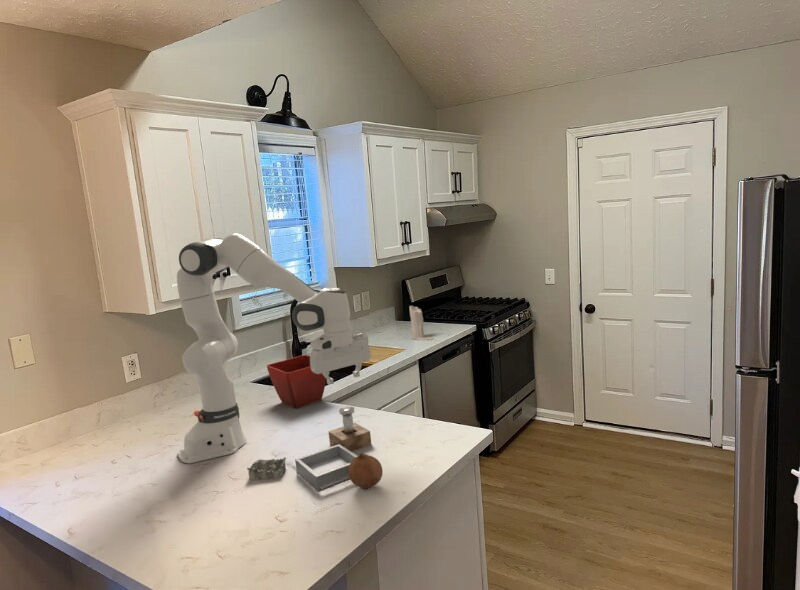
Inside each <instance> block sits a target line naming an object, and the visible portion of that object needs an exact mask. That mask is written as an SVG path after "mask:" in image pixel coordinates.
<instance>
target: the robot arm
mask: <svg viewBox="0 0 800 590" xmlns="http://www.w3.org/2000/svg"><path fill="white" fill-rule="evenodd" d="M178 262H179V263H178V264H179V265H180V269H178V270H177V273H176V284H177V285H176V286H177V291H178V292H177V293H178V296H179V301H180V305H181V308H182V313H183V316H184V319H185V323H186V324H187V326H189V327H190V328H192V329H193V331H194V332H195V334H196V335H197V338H198V340H197V341H195V342H192V344H190V345H189V347H187V348H186V350H185V351H184V353H183V354H182V358H181V359H182V364H183V365H182V366H183V367H184V369H185V370H186V371H187V372H188V373H190V374H191V375H192V376H193V377H194V380H195V381H196V384H197V385H198V390H199V393H200V394H199V395H200V399H201V405H202V408H201V409H200V410H199V409H195V410H194V411H193V415H194V416H195V417H197V422H195V424H194V425H193V426H192V427H191V428H190V429H189V430H188V431H187V432H186V433H185V435H184V438H183V447H180V448H179V449H178V451H177V456H178V457H177V458H178V459H179V461H181V462H182V463H186V464H193V463H197V462H202V461H206V460H210V459H214V458H219V457H223V456H227V455H231V454H235V453H236V452H237V451H238V449H239V448H241V447H242V446H244V445H245V444H246V442H247V438H246V436H245V433H244V432H243V428H242V425H241V421H240V409H239V404H238V402H237V399H236V393H235V385H234V381H233V380H232V379H231V378H229V377H228V375H227V373H226V370H225V363H227V362H228V361H230V360H231V359H232V358H233V357H234V356H235V355H236V353H237V351H238V349H239V341H238V339H237V337H236V336H235V334H234V333H232V332H230V331H229V329H228V327H227V326H226V323H225V322H224V320H223V318H222V316H221V314H220V313H221V312H220V310H219V306H218V302H217V299H216V295H215V290H214V288H213V285H212V284H213V282H212V279H213V276H214V275H219V274H220V273H222V272H223V271H225V270H227V269H229V268H230V269H231V270H232V271H233V272H235V273H236V274H237V275H238V276H239V277H240V278H241V279H242V280H243V281H245V282H246V283H248V284H250V285H252V286H253V287H256V288H257V287H258V288H269V289H270V288H271V289H272V288H273V289H277V290H280V291H282V292H285V293H286V294H287V295H289V296H290V297H291V298H292V299H294V300H295V301H297V302H298V304H296V305H295V306H294V308H293V310H292V313H291V315H292V316H291V318H292V322H293V323H294V325H295V326H296V327H297V328H298V329H299V330H301V331H305V332H308V331H309V332H310V331H314V330H317V329H322V330H323V334H322V335H319V336H318V337H316V338H315V339H313V340H311V341H310V347H311V348H312V349H311V351H310V353H309V354H310V355H309V356H310V366H311V370H312V371H313V372H314V373H316V374H320V373H323V375H324V376H325V378H326V384H327V385H329V386H330V385H331V386H332V385H334V378H332V377H330V372H331V371H335V370H339V369H342V368H347V367H351V366H354V365H355V369H354V371H352V375H353V378H359V377H361V376H360V371H361V369H362V365H363V363H365V362H366V363H367V362H369V361H370V360H371V357H372V353H371V348H370V345H369V337H368V335H367V334H365V333H357V334H353V328H352V324H351V320H350V318H351V310H350V303H349V299H348V295H347V292H346V291H345V290H344V289H341V288H340V287H324V288H322V289H321V290H320V291H317V290H315V289H314V288H312V287H311V286H310V285H308V284H307V283H306V282H304V281H303V280H301V279H300V278H299V277H298V276H296V275H295V274H293V272H291V271H289V270H288V269H286V268H285V267H284V266H283V265H281V264H280V263H279V262H277V261H276V260H275V259H274V258H272V257H271V256H270V255H269V254H267V252H266V251H265V250H263V249H262V248H261V247H259V246H258V245H257V244H256V243H254V242H253V241H251V240H250V239H248V238H246V236H243V235H242V234H239V233H231V234H229V235H227V236H225V237H224V238H221V237H220V238H208V239H202V240H200V241H195V242H192V243H188V244H186V245H185V246H184V247H183V248H181V250H180V252H179V255H178Z"/></svg>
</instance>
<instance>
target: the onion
mask: <svg viewBox="0 0 800 590" xmlns="http://www.w3.org/2000/svg"><path fill="white" fill-rule="evenodd" d="M349 463H350V462H349ZM383 472H384V471H383V466H382V463H381V462H380V461H379V459H377V458H376V457H374V456H372V455H369V454H365V453H364V452H361V453H359V454H358V455H357V457H355V458H354V459H353V460H352V461H351V463H350V465H349V469H348V474H349V475H348V478H350V480H349V481H351V483H352V484H354V485H355V486H356V487H358V488H360V489H362V490H369V489H372V488H373V487H374V486H376V485H378V483H379V482H380V481H381V479H382V477H383Z"/></svg>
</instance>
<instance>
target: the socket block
mask: <svg viewBox="0 0 800 590" xmlns="http://www.w3.org/2000/svg"><path fill="white" fill-rule="evenodd" d="M353 426H354V433H351V434H348V435H346V434H344V426H342V427H338V428H334V429H331V430H329V431H328V439H329V440H328V442H329V445H330V447H332V446H335V445H338V444H340V445H342V446H343V447H345V448H346V449H348V450H349V451H351V452H352V453H353V452H354V451H357V450H360V449H363V448H365V447H368V446H371V445H372V437H371V431H370V430H369V429H368V428H365V427H363V426H362V425H360V424H358V423H356V422H353Z"/></svg>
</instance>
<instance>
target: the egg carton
mask: <svg viewBox="0 0 800 590" xmlns="http://www.w3.org/2000/svg"><path fill="white" fill-rule="evenodd" d="M286 458H287V457H283V458H279V459H278V458H277V459H275V458H272V459H258V460H256V461H254V462H253V463H252V464H251V465H250V467H247V468H246V470H247V471H248V477H249V479H250V478H251V480H252V481H256V480H257V478H258V479H262V480H268V479H269V478H274V479H279V478H281V477H283V476H284V472H285V471H287V467H286Z"/></svg>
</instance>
